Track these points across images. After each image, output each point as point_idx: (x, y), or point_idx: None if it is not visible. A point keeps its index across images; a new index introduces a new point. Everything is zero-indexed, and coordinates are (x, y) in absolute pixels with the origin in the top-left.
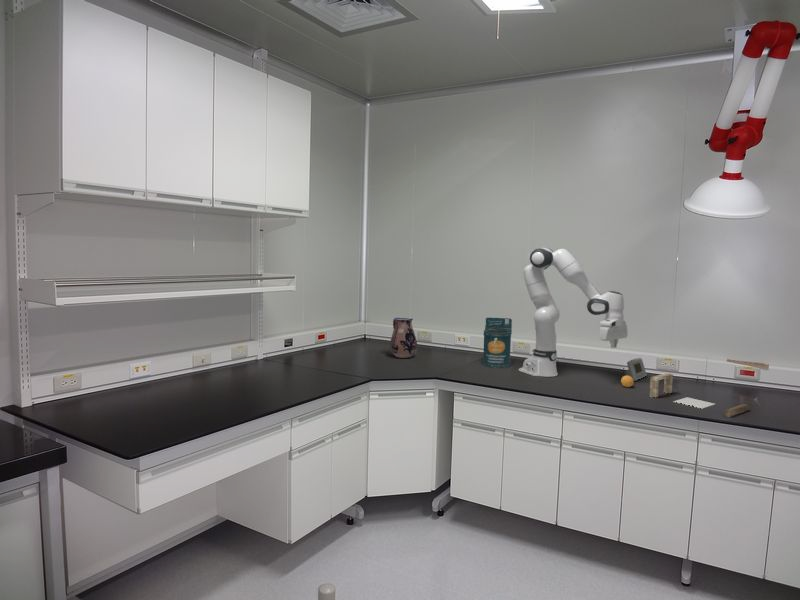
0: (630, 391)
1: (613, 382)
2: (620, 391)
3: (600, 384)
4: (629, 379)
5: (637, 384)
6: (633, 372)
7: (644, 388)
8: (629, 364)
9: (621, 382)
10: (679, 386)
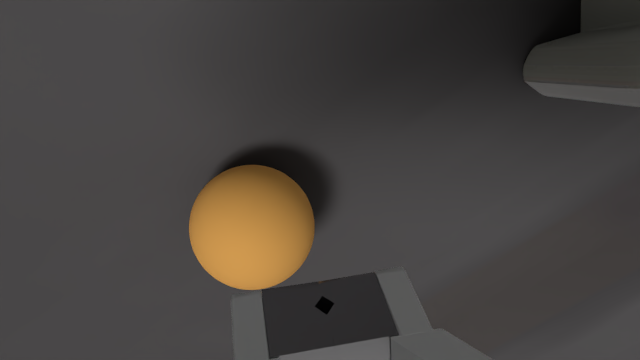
0: (147, 299)
1: (279, 8)
2: (53, 274)
3: (44, 5)
4: (230, 285)
5: (427, 166)
6: (571, 96)
7: (349, 273)
8: (620, 88)
9: (197, 196)
10: (630, 311)
